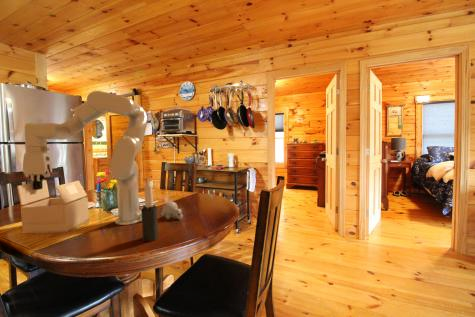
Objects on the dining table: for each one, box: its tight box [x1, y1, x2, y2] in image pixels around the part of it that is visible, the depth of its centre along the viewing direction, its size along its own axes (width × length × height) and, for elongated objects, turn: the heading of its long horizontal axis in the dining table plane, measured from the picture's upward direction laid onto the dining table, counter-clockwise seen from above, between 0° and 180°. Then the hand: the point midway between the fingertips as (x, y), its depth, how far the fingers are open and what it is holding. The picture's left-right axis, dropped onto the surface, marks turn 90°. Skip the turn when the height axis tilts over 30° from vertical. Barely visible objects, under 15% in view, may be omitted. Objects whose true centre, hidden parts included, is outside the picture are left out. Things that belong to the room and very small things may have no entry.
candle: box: [140, 177, 159, 242], centre depth 93 cm, size 5×5×25 cm
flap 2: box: [54, 180, 88, 204], centre depth 109 cm, size 8×16×1 cm
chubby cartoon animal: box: [160, 200, 184, 220], centre depth 118 cm, size 7×12×8 cm, turn 64°
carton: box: [20, 196, 90, 234], centre depth 109 cm, size 19×17×12 cm
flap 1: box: [16, 179, 50, 206], centre depth 108 cm, size 8×16×1 cm
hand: (38, 189), depth 108 cm, fingers closed
